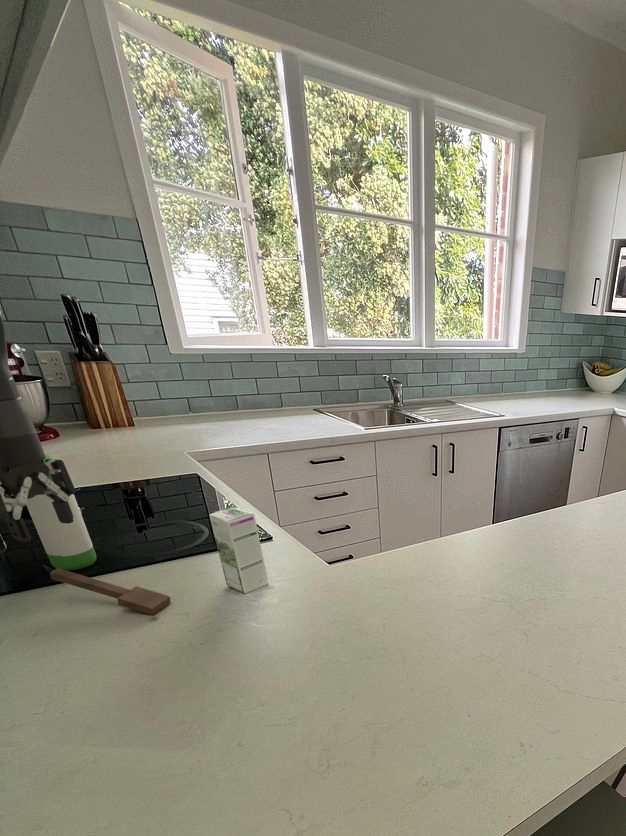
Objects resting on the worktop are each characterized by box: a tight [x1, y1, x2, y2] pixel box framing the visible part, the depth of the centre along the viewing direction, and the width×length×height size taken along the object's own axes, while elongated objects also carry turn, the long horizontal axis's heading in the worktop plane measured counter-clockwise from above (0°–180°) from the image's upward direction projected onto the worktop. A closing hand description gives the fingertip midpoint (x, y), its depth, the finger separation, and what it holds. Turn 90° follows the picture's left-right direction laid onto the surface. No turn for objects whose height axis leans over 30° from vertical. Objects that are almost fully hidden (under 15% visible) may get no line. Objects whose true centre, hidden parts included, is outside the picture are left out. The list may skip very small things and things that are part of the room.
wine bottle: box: [25, 453, 97, 572], centre depth 102 cm, size 8×8×30 cm
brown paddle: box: [49, 568, 172, 616], centre depth 96 cm, size 20×5×1 cm, turn 81°
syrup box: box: [208, 506, 269, 594], centre depth 101 cm, size 6×6×14 cm
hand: (46, 531), depth 91 cm, fingers open, 8 cm apart
